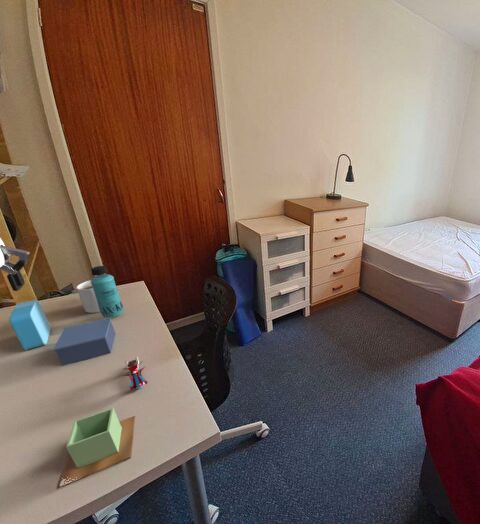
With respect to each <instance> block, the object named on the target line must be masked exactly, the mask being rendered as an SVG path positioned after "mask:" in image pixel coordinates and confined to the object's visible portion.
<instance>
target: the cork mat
mask: <svg viewBox="0 0 480 524" xmlns="http://www.w3.org/2000/svg"><path fill="white" fill-rule="evenodd" d="M119 422H120V425H121V427H122V430H121V437H120V444H119V451H118V453H116V454H113V455H111V456H108V457H106V458H103V459H101V460H99V461H96V462H94V463H91V464H89V465H86V466H84V467H81V468H79V469H78V468H77V466H76V464H75V463H74V461H73V459H72V457H71V455H70V453H69V452H68V453H67V458H66V461H65V464H64V467H63V471H62V474H61V477H60V481H62V480H63V479H66V480H68V479H69V478H71V479H69V481H74V480H72V479H75V480H76V479H79V478H81V477H84V478H86V477H85V476H87V475H89V476H91V475H90V474H92V475H94V474H96V473H98V472H102V471H103V470H106V469H108V468H110V467H113V466H115V465H117V464H120V463H123V462H125V461H128V460H130V459H132V453H133V443H134V435H135V434H134V433H135V422H136V415H133V416H130V417H128V418H125V419H122V420H119ZM93 473H94V474H93ZM67 477H68V478H67ZM76 477H77V478H76ZM87 477H88V476H87ZM61 478H63V479H61ZM66 480H65V481H66ZM65 481H64V482H65ZM69 481H66V482H69ZM64 484H65V483H64Z"/></svg>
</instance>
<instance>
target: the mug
mask: <svg viewBox="0 0 480 524" xmlns="http://www.w3.org/2000/svg"><path fill="white" fill-rule="evenodd" d="M91 280H92V279H90V280H86V281H84V282H81V283H79V284H78V285H77V286H76V291H77V294H78V296H79V299H80V302H81V304H82V306H83V309H84V312H86V313H88V314H89V313H90V314H95V313H96V314H97V313H101V312H100V309H99V306H98V304H97V303H98V302H97V299H96V297H95V293H94V290H93V287H92V284H91V282H90V281H91Z"/></svg>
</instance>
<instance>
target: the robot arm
mask: <svg viewBox="0 0 480 524" xmlns="http://www.w3.org/2000/svg"><path fill="white" fill-rule="evenodd" d="M30 255H31V252H30V251H28V250H24V249H19V248H14V247H11V246H6V245H5V243H4V241H3V239H2V238H1V237H0V270H1V271H3V272H5V273H7V275H6V278H7V280H8V283H9V285H10V287H11V289H12V291H14V292H18V291H20V290H21V289H22V288H23V287H24V286H25V283H26V282H25V280H24V276H23V275H22V272H21V270H22V269H23V268H24V267H25V266H26V265H27V264H28V260H29V258H30ZM11 256H14V257H17V259H18V260H17V262H16V263H15V262H14V261H12V260H11Z"/></svg>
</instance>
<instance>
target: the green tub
mask: <svg viewBox="0 0 480 524" xmlns="http://www.w3.org/2000/svg"><path fill="white" fill-rule="evenodd" d="M119 421H120V420H119V417H118V415H117V413H116V411H115V408H114V407H111V408H108V409H106V410H102V411H99V412H96V413H94V414H92V415H88V416H85V417H82V418H78V419H76V420H74V421H73V424H72V428H71V430H70V433H69V437H68V440H67V443H66V446H65V448H66V450H67V451H68V454H69V453H70V455H71V457H72V459H73V461H74V463H75V464H76V466H77V468H78V469H79V468H81V467H84V466H86V465H89V464H91V463H94V462H96V461H99V460H101V459H103V458H106V457H108V456H111V455H113V454H116V453H118V451H119V444H120V437H121V430H122V427H121V425H120V422H119Z"/></svg>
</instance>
